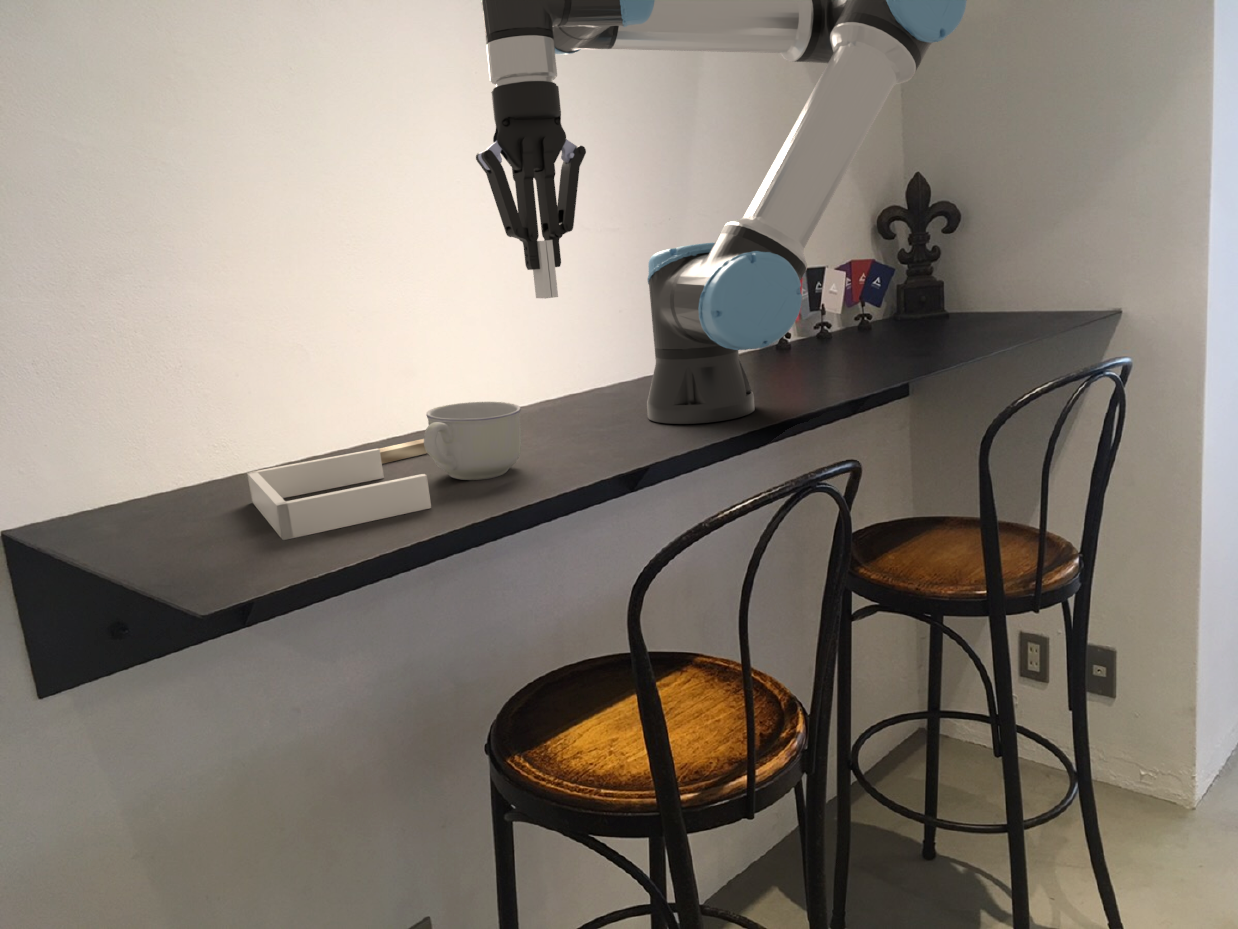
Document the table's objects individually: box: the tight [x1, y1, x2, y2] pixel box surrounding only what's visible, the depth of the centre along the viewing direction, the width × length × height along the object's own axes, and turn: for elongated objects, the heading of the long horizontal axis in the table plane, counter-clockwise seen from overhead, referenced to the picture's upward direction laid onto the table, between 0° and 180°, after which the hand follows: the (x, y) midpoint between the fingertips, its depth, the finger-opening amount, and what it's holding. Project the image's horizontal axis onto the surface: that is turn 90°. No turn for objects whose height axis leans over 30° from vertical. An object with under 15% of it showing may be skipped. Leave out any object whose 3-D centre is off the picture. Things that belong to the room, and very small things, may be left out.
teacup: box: [423, 401, 522, 481], centre depth 112 cm, size 14×11×8 cm
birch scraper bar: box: [378, 438, 428, 465], centre depth 127 cm, size 23×2×2 cm, turn 129°
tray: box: [246, 448, 432, 541], centre depth 105 cm, size 15×19×4 cm
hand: (547, 297), depth 114 cm, fingers closed
